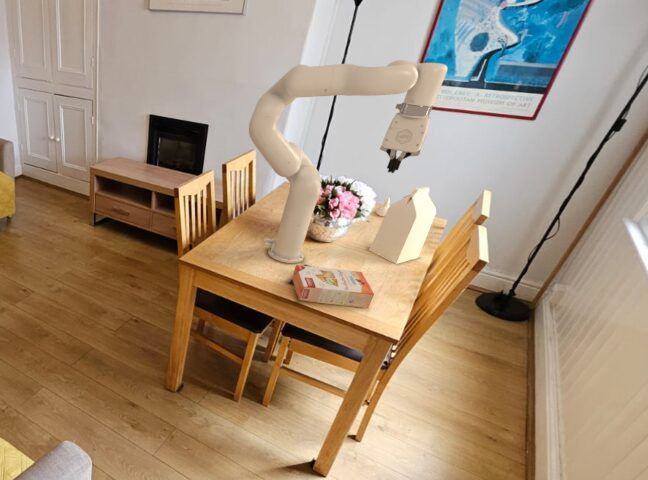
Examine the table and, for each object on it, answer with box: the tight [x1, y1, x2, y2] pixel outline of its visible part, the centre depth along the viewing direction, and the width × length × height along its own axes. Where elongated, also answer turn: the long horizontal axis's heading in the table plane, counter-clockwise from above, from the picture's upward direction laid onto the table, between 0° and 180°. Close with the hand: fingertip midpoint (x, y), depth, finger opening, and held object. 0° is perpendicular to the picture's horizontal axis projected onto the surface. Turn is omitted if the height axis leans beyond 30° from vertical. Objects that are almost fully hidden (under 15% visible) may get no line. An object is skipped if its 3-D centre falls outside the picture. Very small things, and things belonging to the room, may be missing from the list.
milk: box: [368, 185, 437, 265], centre depth 163 cm, size 12×12×26 cm
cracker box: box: [291, 264, 375, 309], centre depth 145 cm, size 14×6×21 cm
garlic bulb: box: [375, 196, 391, 218], centre depth 198 cm, size 6×6×8 cm
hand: (391, 171), depth 142 cm, fingers closed
